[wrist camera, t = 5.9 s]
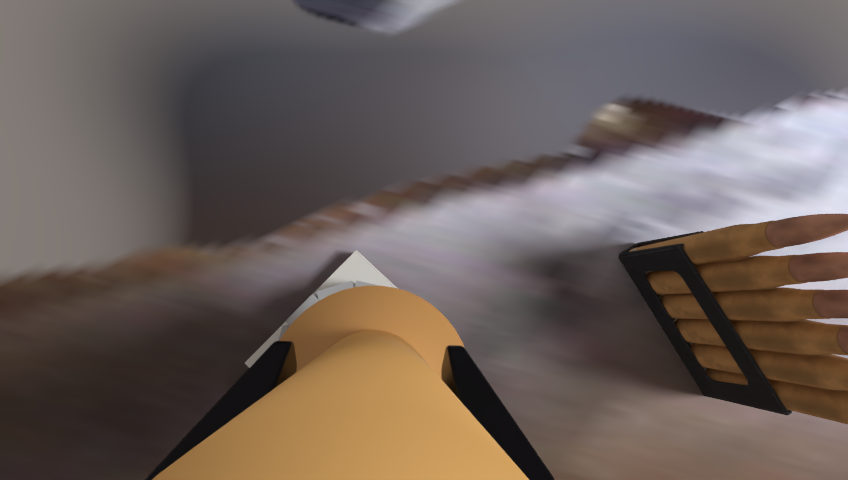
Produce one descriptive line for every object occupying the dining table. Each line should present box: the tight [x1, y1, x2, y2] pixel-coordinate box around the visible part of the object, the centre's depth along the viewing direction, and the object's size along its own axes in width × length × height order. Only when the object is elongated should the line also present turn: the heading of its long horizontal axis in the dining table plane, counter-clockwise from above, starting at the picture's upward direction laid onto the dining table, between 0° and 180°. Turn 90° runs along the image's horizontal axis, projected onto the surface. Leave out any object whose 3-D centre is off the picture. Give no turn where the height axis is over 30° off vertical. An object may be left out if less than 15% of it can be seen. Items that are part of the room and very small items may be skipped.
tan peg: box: [152, 286, 529, 480], centre depth 9 cm, size 6×6×13 cm
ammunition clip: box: [619, 214, 848, 424], centre depth 18 cm, size 11×2×12 cm, turn 29°
